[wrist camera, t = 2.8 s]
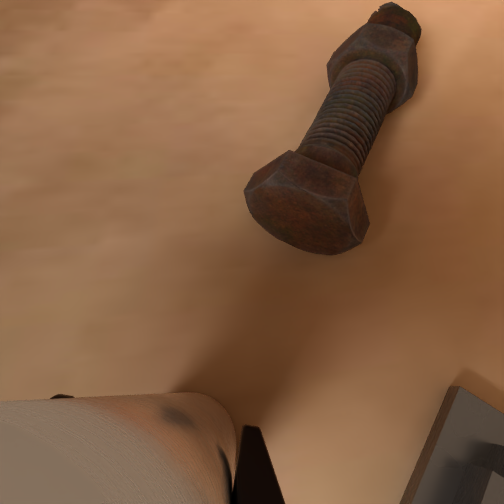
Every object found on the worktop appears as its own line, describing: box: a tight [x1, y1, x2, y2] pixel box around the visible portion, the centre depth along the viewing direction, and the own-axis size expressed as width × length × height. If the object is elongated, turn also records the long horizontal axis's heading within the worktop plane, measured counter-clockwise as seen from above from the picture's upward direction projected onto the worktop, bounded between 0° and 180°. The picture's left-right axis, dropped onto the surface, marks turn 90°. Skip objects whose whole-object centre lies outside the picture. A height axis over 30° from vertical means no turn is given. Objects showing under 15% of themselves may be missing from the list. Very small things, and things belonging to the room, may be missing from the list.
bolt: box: [244, 2, 421, 255], centre depth 19 cm, size 6×5×15 cm
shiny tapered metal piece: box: [0, 392, 236, 504], centre depth 8 cm, size 4×4×14 cm
